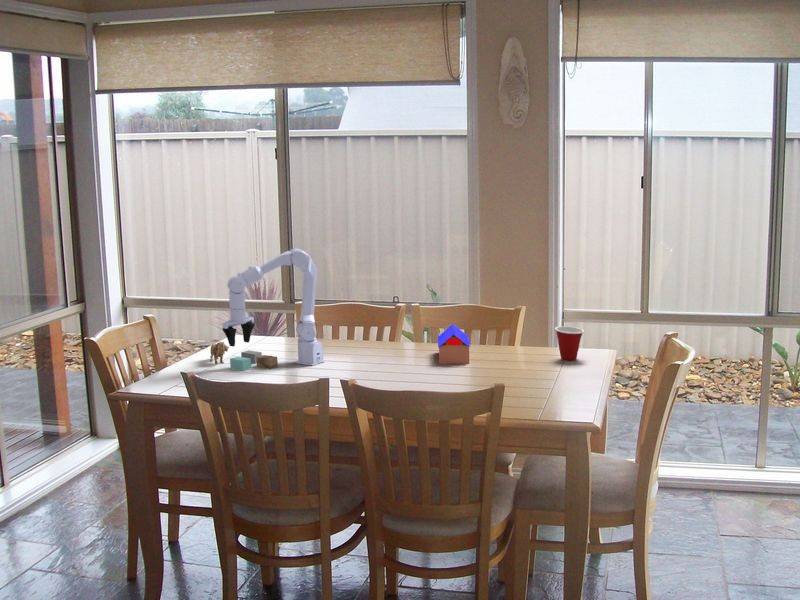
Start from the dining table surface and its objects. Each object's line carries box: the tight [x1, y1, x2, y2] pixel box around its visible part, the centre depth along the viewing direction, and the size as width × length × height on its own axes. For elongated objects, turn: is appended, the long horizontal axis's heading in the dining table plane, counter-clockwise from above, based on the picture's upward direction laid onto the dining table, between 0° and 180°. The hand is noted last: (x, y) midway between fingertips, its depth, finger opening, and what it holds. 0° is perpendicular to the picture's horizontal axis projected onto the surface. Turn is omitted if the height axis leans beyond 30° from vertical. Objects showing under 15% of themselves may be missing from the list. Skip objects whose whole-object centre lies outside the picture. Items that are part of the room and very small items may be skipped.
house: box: [437, 323, 471, 365], centre depth 346 cm, size 12×20×12 cm, turn 178°
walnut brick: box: [256, 354, 279, 370], centre depth 339 cm, size 7×4×4 cm, turn 56°
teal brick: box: [229, 356, 252, 372], centre depth 338 cm, size 7×4×4 cm, turn 54°
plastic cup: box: [554, 325, 585, 362], centre depth 339 cm, size 11×11×12 cm
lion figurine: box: [209, 341, 230, 366], centre depth 349 cm, size 15×5×9 cm, turn 34°
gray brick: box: [240, 349, 263, 365], centre depth 348 cm, size 7×4×4 cm, turn 56°
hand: (239, 344), depth 337 cm, fingers open, 7 cm apart
